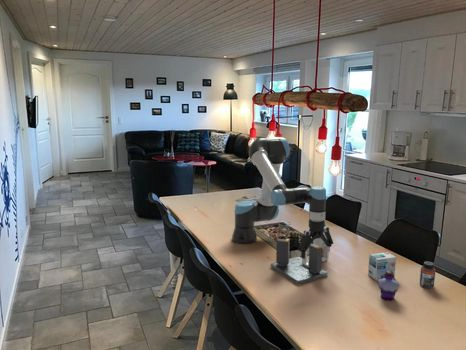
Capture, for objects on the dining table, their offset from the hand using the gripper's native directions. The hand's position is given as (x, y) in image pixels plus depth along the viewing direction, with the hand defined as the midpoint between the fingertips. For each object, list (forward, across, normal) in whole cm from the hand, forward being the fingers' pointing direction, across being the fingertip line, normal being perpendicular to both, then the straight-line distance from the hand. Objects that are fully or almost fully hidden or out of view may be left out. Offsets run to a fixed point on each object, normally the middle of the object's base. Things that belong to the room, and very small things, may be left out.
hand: (315, 261), depth 187 cm
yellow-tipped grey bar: (+5, -9, +14) cm, 17 cm away
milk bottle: (+7, +15, +13) cm, 21 cm away
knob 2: (+5, 0, 0) cm, 5 cm away
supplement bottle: (+8, +37, -34) cm, 51 cm away
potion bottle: (+8, +13, -32) cm, 35 cm away
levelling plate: (+7, -4, +7) cm, 11 cm away
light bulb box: (+8, +27, -17) cm, 33 cm away
